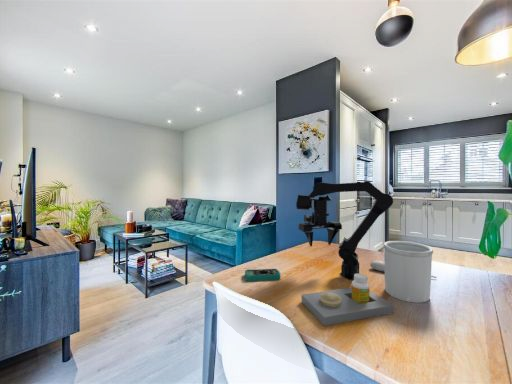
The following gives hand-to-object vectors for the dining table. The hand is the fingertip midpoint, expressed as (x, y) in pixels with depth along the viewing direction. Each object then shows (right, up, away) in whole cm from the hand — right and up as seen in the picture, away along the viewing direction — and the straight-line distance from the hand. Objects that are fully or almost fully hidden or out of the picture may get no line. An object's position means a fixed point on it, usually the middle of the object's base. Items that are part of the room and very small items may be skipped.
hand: (320, 245), depth 106 cm
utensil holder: (+26, -13, -20) cm, 35 cm away
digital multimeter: (-26, -13, -5) cm, 29 cm away
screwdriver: (+35, -13, -2) cm, 38 cm away
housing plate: (0, -13, -29) cm, 32 cm away
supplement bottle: (+6, -13, -28) cm, 31 cm away
